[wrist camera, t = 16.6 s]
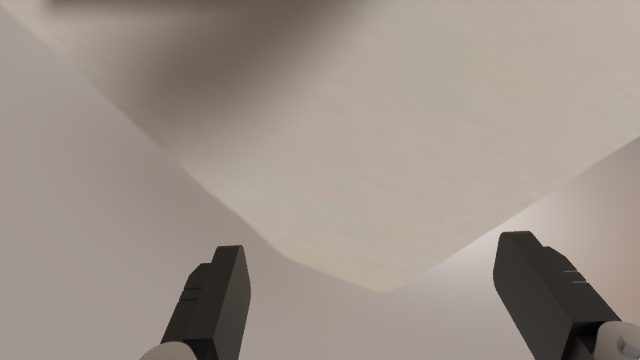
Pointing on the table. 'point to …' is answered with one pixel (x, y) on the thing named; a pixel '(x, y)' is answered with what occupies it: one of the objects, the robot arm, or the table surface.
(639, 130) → the table surface
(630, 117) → the table surface
